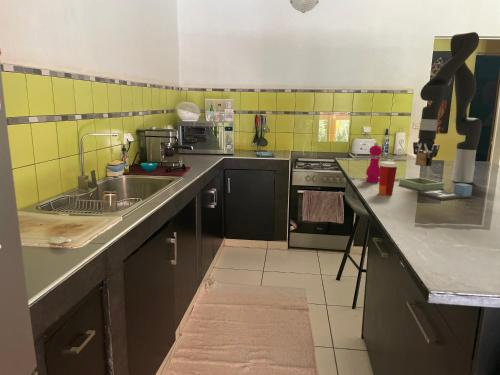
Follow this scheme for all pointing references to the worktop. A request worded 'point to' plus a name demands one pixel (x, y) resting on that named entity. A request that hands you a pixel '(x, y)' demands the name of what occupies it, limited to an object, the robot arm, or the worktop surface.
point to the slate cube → (463, 189)
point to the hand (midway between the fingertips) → (423, 164)
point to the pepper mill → (374, 164)
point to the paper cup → (387, 177)
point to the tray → (421, 184)
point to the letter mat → (440, 194)
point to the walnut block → (421, 159)
